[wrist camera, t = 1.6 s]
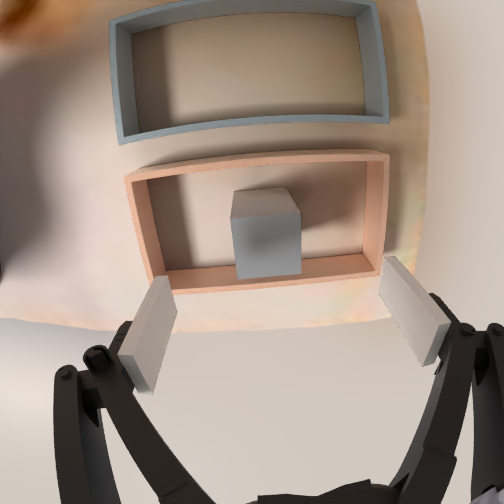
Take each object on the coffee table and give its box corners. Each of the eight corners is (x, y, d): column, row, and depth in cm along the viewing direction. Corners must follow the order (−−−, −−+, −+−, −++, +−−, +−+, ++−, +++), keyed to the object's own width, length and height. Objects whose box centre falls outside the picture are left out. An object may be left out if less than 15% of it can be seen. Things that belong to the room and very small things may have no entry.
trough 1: (135, 141, 25) (118, 145, 21) (125, 31, 19) (109, 20, 16) (371, 122, 24) (389, 124, 21) (359, 13, 19) (375, 1, 15)
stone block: (239, 238, 30) (237, 279, 22) (233, 191, 27) (230, 218, 20) (287, 234, 30) (301, 273, 22) (285, 187, 27) (300, 212, 20)
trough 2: (162, 275, 31) (153, 295, 28) (139, 168, 26) (123, 176, 22) (366, 257, 31) (380, 275, 27) (371, 149, 26) (389, 155, 22)
